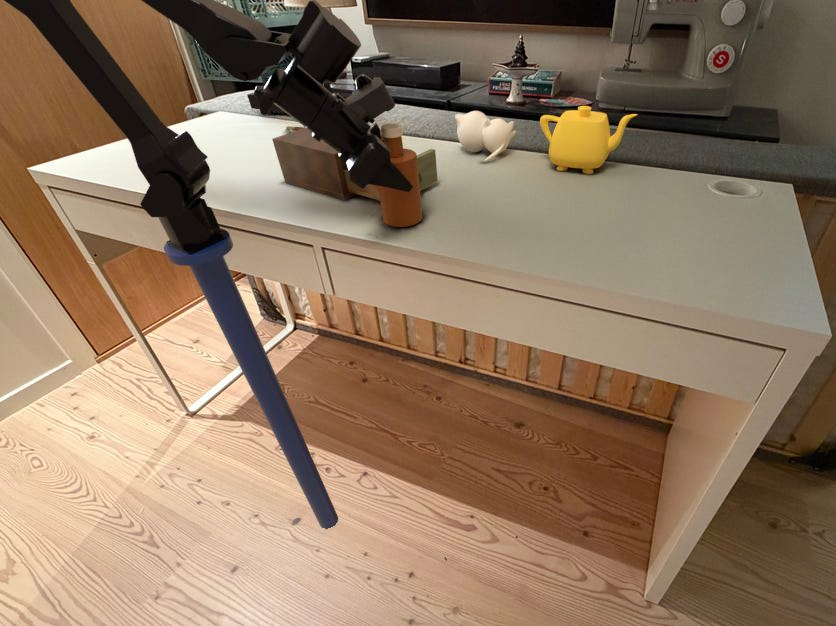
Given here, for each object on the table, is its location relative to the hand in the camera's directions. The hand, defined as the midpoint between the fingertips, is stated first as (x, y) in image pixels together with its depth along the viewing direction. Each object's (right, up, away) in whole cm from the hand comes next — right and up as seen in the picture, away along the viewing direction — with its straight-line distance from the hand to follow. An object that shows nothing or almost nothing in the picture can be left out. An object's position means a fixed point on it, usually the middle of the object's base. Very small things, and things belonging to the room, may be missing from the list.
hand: (407, 181), depth 72 cm
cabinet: (-16, +7, +18) cm, 25 cm away
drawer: (-7, +4, +13) cm, 15 cm away
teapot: (+32, +11, +21) cm, 40 cm away
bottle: (-1, -5, +4) cm, 6 cm away
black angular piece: (-36, +39, +53) cm, 75 cm away
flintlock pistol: (-25, +24, +36) cm, 50 cm away
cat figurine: (+12, +16, +27) cm, 34 cm away
